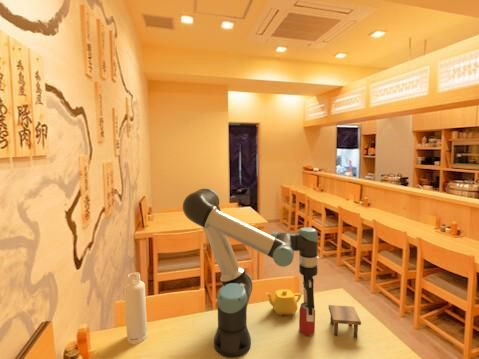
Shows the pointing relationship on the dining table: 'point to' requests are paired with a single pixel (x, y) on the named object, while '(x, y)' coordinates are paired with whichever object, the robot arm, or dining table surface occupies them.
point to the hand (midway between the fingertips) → (308, 311)
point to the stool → (344, 318)
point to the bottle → (135, 309)
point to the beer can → (305, 321)
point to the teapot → (284, 302)
